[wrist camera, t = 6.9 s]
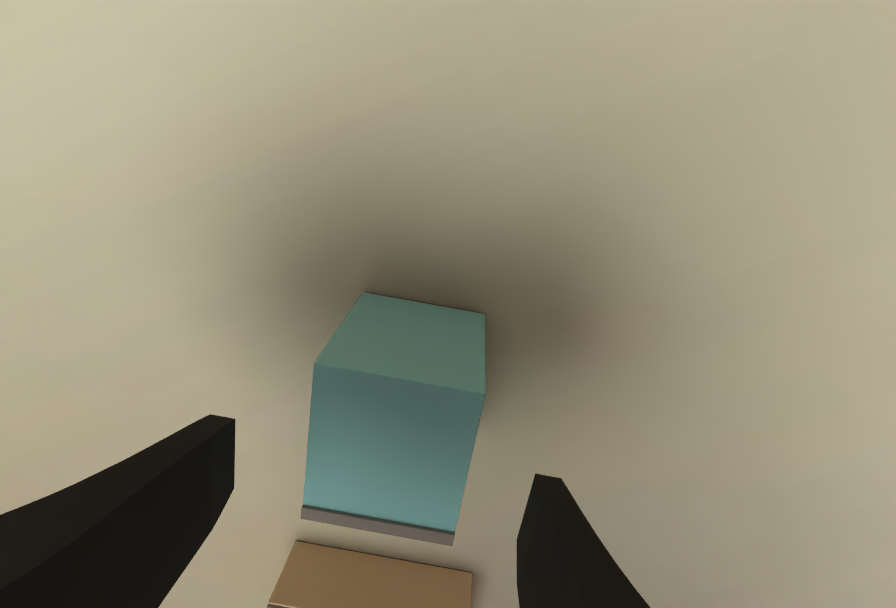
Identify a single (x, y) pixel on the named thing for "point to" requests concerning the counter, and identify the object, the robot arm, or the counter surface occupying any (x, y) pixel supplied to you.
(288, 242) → the counter surface
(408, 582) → the taped cardboard box
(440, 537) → the teal box
